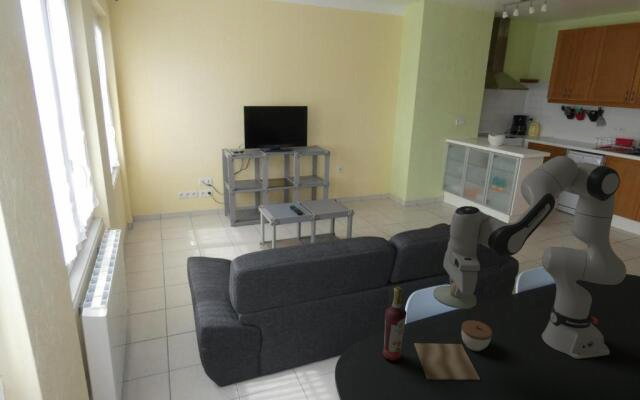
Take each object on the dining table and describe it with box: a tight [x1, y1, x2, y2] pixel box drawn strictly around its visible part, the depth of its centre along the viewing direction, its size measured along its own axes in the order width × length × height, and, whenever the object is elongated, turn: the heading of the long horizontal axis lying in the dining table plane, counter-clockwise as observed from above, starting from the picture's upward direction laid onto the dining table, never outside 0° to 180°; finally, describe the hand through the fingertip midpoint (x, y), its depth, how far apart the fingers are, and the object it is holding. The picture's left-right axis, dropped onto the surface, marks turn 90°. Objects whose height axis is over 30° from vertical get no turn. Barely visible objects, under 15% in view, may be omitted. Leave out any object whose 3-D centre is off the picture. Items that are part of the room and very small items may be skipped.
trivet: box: [414, 342, 481, 381], centre depth 137 cm, size 18×18×1 cm
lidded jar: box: [460, 319, 493, 352], centre depth 145 cm, size 11×11×9 cm
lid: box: [432, 283, 478, 310], centre depth 129 cm, size 14×14×5 cm
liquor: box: [381, 286, 407, 362], centre depth 135 cm, size 7×7×28 cm
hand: (455, 292), depth 129 cm, fingers closed on lid, 3 cm apart
